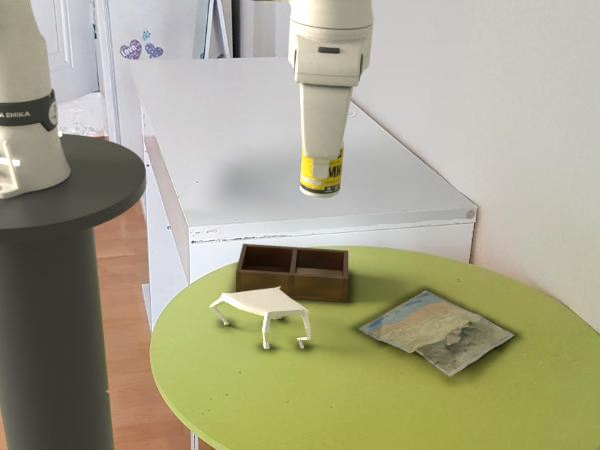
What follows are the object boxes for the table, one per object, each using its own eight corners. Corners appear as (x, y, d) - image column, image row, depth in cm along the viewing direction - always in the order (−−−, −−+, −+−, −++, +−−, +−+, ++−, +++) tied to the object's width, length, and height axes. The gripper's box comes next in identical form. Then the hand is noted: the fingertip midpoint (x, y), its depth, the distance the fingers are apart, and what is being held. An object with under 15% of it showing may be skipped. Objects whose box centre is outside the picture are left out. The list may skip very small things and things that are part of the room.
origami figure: (309, 314, 93) (311, 280, 91) (310, 355, 86) (312, 319, 83) (212, 310, 93) (212, 276, 91) (205, 351, 85) (204, 315, 83)
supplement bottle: (327, 202, 86) (333, 133, 82) (292, 192, 88) (295, 123, 84) (347, 188, 89) (353, 121, 85) (312, 178, 91) (316, 112, 87)
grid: (235, 294, 96) (235, 271, 95) (242, 265, 103) (243, 243, 101) (346, 302, 96) (348, 279, 94) (346, 272, 102) (348, 250, 101)
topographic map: (515, 336, 91) (517, 324, 90) (450, 380, 82) (451, 368, 81) (425, 293, 99) (427, 282, 99) (357, 329, 91) (358, 318, 90)
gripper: (305, 23, 90) (299, 132, 96) (293, 71, 72) (287, 201, 78) (358, 27, 90) (348, 136, 96) (359, 75, 72) (348, 206, 78)
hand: (321, 166), depth 87 cm, fingers closed on supplement bottle, 5 cm apart
